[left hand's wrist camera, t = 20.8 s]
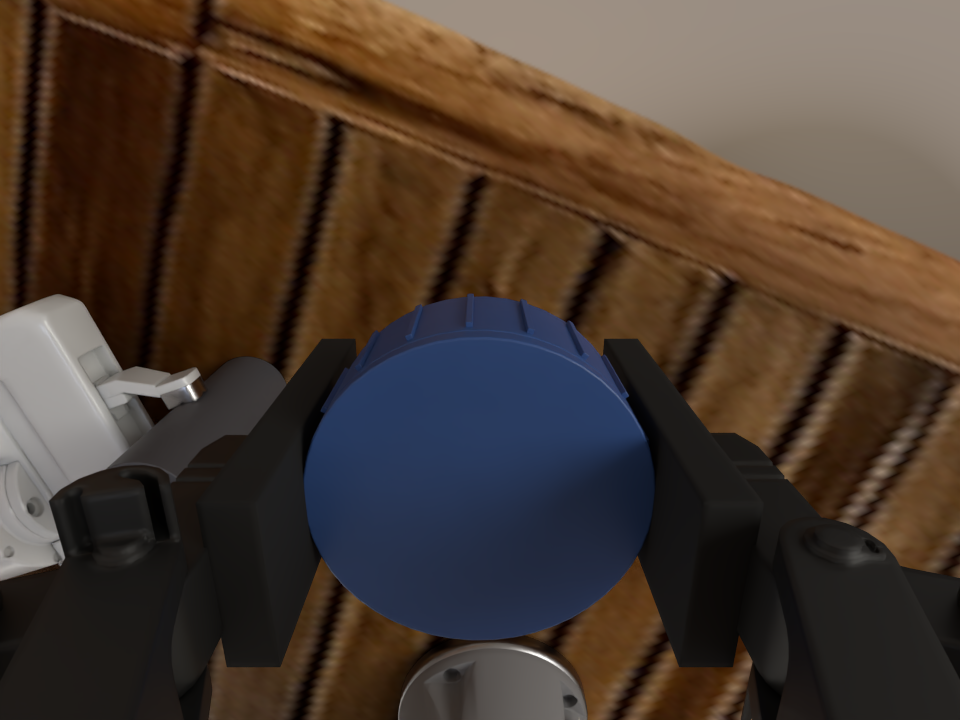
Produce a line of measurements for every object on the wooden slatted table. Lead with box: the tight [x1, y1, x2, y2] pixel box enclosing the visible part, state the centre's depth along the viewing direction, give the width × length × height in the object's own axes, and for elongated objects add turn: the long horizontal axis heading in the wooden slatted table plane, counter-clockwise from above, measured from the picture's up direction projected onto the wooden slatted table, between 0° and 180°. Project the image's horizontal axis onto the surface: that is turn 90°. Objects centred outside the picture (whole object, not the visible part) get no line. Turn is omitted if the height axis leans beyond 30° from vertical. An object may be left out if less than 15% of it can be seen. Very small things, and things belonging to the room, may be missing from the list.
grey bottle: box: [105, 357, 286, 483], centre depth 33 cm, size 5×5×16 cm
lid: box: [303, 294, 655, 640], centre depth 11 cm, size 6×6×2 cm
